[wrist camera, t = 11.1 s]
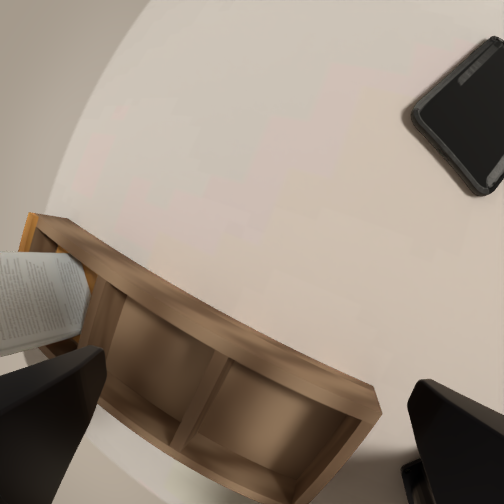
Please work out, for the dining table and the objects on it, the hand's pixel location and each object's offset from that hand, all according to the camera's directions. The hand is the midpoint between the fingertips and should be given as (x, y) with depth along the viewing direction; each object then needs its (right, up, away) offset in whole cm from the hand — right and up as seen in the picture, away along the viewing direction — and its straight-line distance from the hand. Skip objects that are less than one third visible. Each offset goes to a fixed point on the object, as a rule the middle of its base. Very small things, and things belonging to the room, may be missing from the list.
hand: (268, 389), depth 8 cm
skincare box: (-14, 0, +14) cm, 20 cm away
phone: (+18, +15, +9) cm, 25 cm away
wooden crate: (-7, -4, +13) cm, 15 cm away
